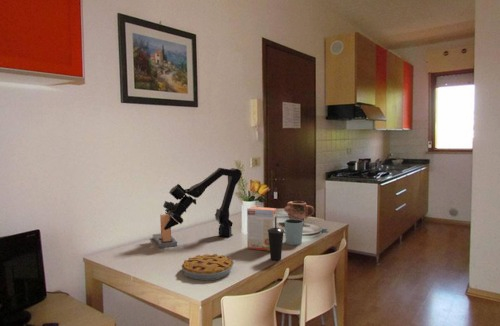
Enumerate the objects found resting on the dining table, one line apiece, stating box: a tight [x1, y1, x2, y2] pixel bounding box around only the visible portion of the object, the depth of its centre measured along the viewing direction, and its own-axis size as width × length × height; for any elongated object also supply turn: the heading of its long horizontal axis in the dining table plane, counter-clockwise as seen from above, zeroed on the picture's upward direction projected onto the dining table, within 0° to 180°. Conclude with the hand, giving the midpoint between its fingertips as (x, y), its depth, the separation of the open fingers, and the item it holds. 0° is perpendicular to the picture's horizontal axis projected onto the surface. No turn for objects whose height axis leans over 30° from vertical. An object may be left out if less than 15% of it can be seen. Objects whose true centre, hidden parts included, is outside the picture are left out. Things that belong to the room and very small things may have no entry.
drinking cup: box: [268, 216, 285, 262], centre depth 170 cm, size 8×8×20 cm
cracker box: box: [246, 206, 277, 252], centre depth 186 cm, size 14×6×21 cm, turn 69°
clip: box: [159, 213, 172, 242], centre depth 195 cm, size 7×4×13 cm, turn 25°
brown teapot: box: [283, 200, 315, 223], centre depth 239 cm, size 20×12×14 cm, turn 72°
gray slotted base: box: [152, 233, 178, 249], centre depth 199 cm, size 20×9×2 cm, turn 25°
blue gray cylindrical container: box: [284, 218, 305, 246], centre depth 196 cm, size 10×10×12 cm
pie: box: [181, 253, 235, 281], centre depth 156 cm, size 22×22×5 cm
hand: (163, 227), depth 194 cm, fingers closed on clip, 7 cm apart
